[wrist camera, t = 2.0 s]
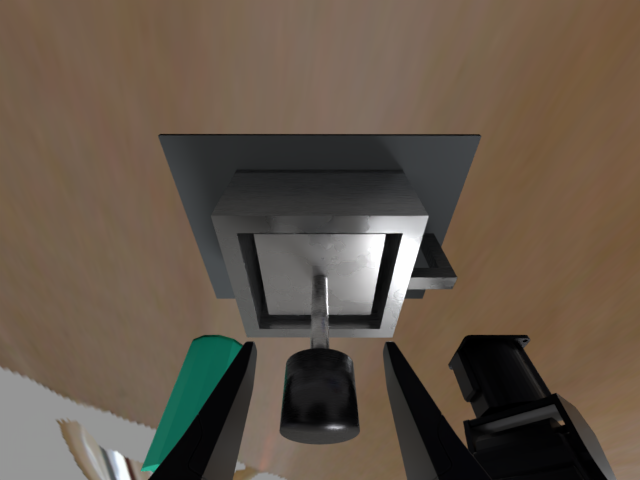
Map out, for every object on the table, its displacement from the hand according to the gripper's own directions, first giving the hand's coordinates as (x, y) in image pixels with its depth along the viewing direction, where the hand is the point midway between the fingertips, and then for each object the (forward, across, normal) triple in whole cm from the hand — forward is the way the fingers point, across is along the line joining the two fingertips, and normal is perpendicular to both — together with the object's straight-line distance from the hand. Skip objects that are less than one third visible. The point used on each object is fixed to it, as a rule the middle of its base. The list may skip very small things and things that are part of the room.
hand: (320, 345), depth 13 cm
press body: (+8, -1, 0) cm, 9 cm away
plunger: (+5, 0, 0) cm, 5 cm away
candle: (+9, +11, +16) cm, 21 cm away
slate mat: (+9, 0, 0) cm, 9 cm away
